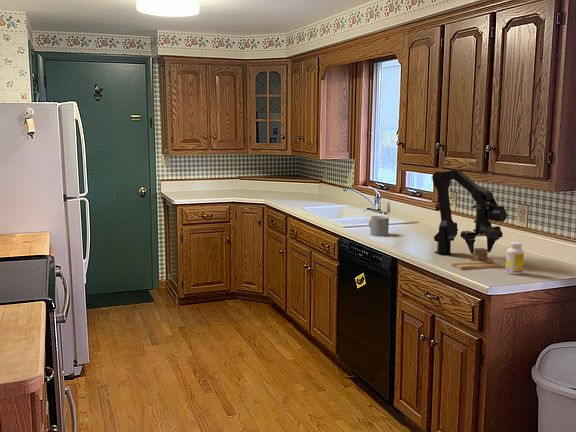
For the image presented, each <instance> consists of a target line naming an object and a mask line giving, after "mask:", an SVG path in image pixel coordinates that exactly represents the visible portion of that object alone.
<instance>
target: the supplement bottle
mask: <svg viewBox="0 0 576 432" xmlns="http://www.w3.org/2000/svg"><path fill="white" fill-rule="evenodd" d="M522 247H523V243H521V242H517V241H511V242H509V248H507V250H506V259H505V273H506V274H509V275H515V276H516V275H517V276H518V275H522V274H523V272H524V271H523V269H524V256H525V255H524V253H525V250H524V249H522Z"/></svg>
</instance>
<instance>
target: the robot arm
mask: <svg viewBox="0 0 576 432" xmlns="http://www.w3.org/2000/svg"><path fill="white" fill-rule="evenodd" d="M431 177H432V178H431V179H432V183H433V186H434V188H435V189H436V191H437V195H438V205H439V214H440V223H439V226H438V232H437V233H436V234H435V235H433V240H434V241H435V242H437V246H436V248H437V249H436V250H435V251H434V253H435V254H437V255H441V256H448V255H453V254H454V253H453V252H451V248H452V245H451V243H452V242H454V241H455V238H456V237H457V235H458V232H459V229H458V223H457V222H454V221H453V218H452V217H453V216H452V208H451V201H450V194H449V193H450V192H449V188H450V186H451V182H452V180H454V181H455V182H456V183H458V184H459V185H460V186H462V187H463V189H464V190H466V191H467V192H468V193H470V195H471V197H472V199H473V200H474V202H475V204H473V205H472V206H471V207H472V208H473V209H476V213H475V214H476V215H475V220H473V223H474V224H475V225H474V226H475V227H474V229H473V230H461V232H460V238H462V239H463V240H465V243H466V245H467V247H468V250H469V253H470V254H471V255H472V254H473V250H474V248H475V242H476V241H477V239H475V238H476V237H486V246H487V247H486V249H487V250H488V253H489V254H490V253H491V251H492V250H493V247H494V244H496V242H497V241H498V240H500V239H501V238H503V236H504V235H503V231H502V230H501V229H502V228H501V227H500V226H499V225H497V226H493V225H492V221H494V222H501V223H503V222H505V221H506V220H507V217H508V212H507V210H506V209H505V206H504V205H498V203H497V201H496V200H495V198H494V194H493V191H491V190H489V189H487V188H485V187H482V186H479V185H478V184H476V182H474V180H472V179H471V178H469V177H468V176H467V175H465V173H463V171H462V170H461V169H452V170H448V171H447V170H446V171H445V170H443V171H442V170H441V171H435V172H434V173H433V174H432V176H431Z"/></svg>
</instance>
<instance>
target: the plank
mask: <svg viewBox="0 0 576 432" xmlns="http://www.w3.org/2000/svg"><path fill="white" fill-rule="evenodd" d="M450 266H451V267H453V268H456V269H459V270H461V271H462V270H463V271H464V270H474V269H476V270H477V269H488V268H499V267H501V263H499V262H495V261H493V262H491V263H489V262H486V261H472V260H471V261H459V262H458V261H456V262H450Z"/></svg>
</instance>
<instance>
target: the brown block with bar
mask: <svg viewBox="0 0 576 432" xmlns="http://www.w3.org/2000/svg"><path fill="white" fill-rule="evenodd" d="M488 253H489V252H488V250H487V248H485V247H484V248H483V247H477V248H476V247H474V250H473V254H471V255H472V257H471V261H486V262H489V263H491V262H494V260H493V259H491V258H488Z"/></svg>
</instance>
